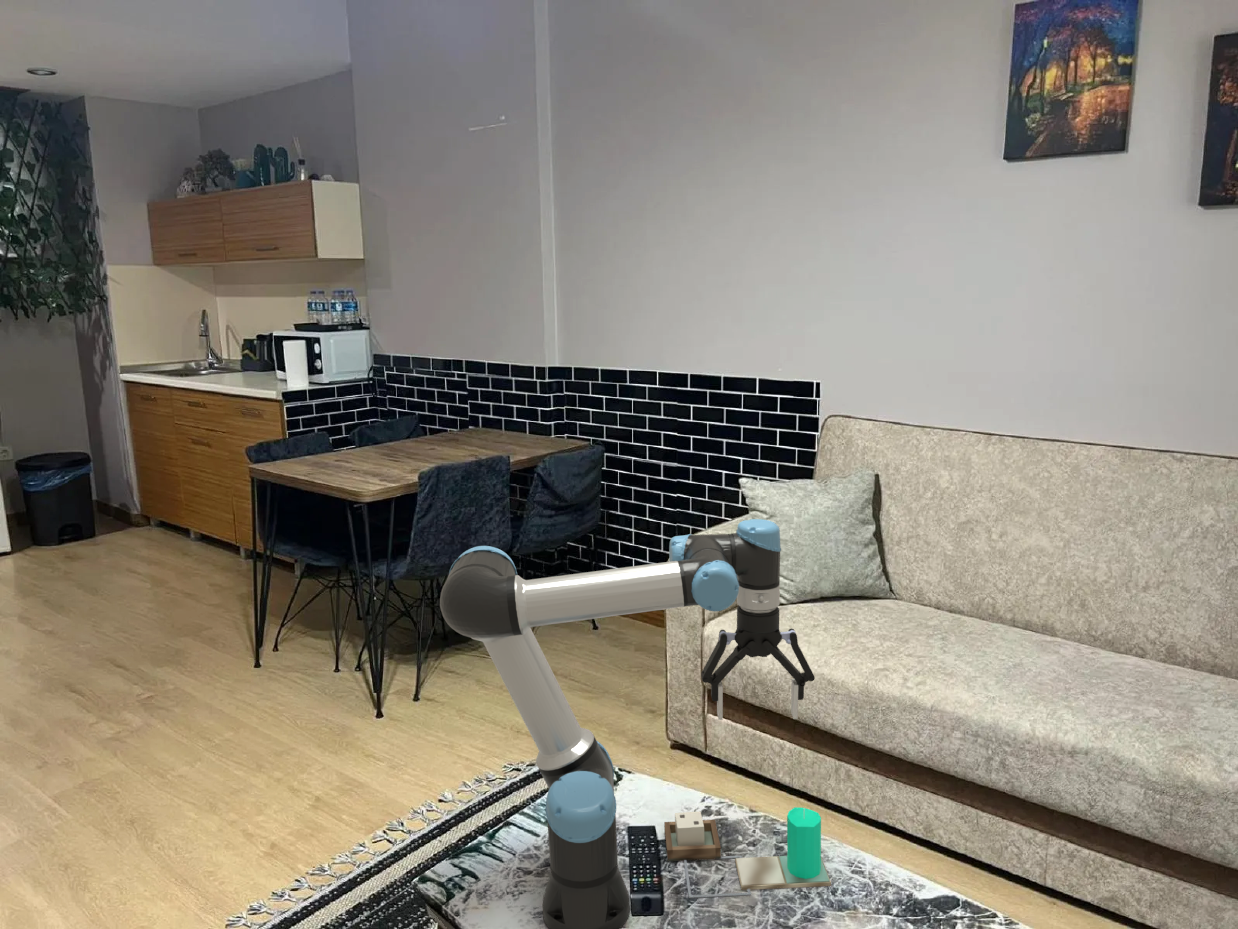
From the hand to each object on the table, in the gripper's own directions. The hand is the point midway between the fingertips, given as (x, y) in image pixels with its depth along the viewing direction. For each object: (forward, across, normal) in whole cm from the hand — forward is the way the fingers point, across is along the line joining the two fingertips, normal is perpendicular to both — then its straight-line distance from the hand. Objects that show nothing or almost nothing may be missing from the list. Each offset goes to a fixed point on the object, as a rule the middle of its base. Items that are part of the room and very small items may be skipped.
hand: (757, 716), depth 168 cm
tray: (+28, -12, +2) cm, 31 cm away
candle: (+27, +8, -6) cm, 29 cm away
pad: (+28, -8, -7) cm, 30 cm away
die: (+28, -12, +2) cm, 30 cm away
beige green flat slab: (+28, +4, -6) cm, 29 cm away
